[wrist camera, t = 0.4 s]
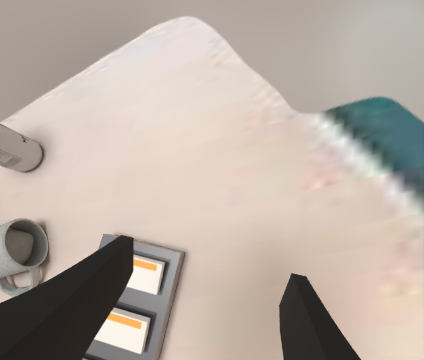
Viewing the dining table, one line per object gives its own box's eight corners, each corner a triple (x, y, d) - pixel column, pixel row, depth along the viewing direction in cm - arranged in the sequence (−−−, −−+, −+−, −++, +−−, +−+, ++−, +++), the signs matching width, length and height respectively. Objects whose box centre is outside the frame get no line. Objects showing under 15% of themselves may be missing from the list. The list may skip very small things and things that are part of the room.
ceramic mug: (-1, 236, 41) (-54, 236, 33) (45, 219, 40) (2, 215, 33) (7, 301, 38) (-49, 317, 30) (56, 283, 38) (12, 295, 30)
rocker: (159, 290, 33) (156, 295, 31) (100, 274, 34) (94, 277, 33) (165, 261, 33) (162, 265, 32) (106, 246, 34) (100, 248, 33)
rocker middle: (145, 347, 31) (140, 354, 30) (83, 327, 33) (76, 333, 31) (151, 317, 31) (146, 322, 30) (89, 298, 33) (82, 303, 31)
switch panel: (145, 412, 32) (136, 429, 29) (66, 383, 34) (50, 397, 31) (184, 252, 37) (180, 253, 34) (113, 234, 39) (103, 233, 36)
